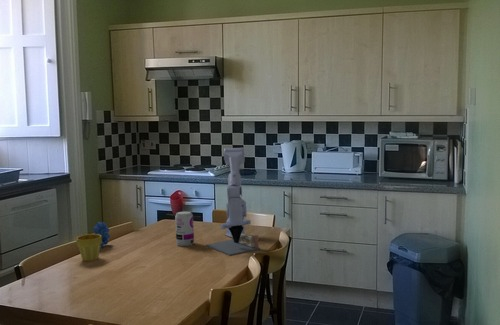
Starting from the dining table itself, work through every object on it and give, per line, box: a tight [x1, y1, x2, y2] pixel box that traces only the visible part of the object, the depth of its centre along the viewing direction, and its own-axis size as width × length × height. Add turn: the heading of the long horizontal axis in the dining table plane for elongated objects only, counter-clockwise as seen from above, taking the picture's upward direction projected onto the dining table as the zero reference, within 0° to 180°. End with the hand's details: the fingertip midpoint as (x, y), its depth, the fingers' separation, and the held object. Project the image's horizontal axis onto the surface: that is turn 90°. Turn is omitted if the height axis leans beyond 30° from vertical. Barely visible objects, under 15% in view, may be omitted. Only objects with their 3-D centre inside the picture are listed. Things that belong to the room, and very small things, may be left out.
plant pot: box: [75, 233, 102, 262], centre depth 224 cm, size 10×10×10 cm
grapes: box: [92, 221, 111, 248], centre depth 243 cm, size 12×7×12 cm, turn 160°
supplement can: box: [174, 210, 195, 247], centre depth 243 cm, size 8×8×15 cm
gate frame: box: [205, 234, 261, 256], centre depth 235 cm, size 21×16×7 cm
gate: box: [239, 233, 255, 247], centre depth 235 cm, size 11×1×4 cm, turn 36°
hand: (236, 242), depth 232 cm, fingers closed
